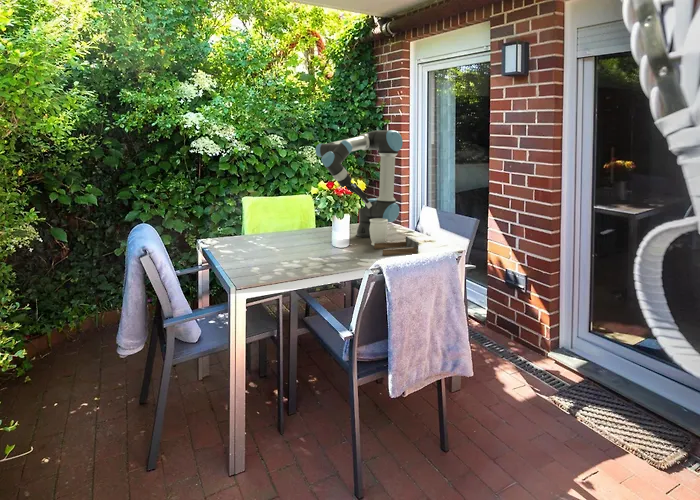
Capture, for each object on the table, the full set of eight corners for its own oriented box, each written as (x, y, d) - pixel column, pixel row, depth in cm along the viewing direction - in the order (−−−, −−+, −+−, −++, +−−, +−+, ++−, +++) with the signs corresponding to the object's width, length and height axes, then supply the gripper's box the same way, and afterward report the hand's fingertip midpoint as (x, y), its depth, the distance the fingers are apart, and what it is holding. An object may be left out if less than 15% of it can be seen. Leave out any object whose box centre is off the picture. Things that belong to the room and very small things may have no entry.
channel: (374, 248, 293) (374, 238, 292) (407, 246, 298) (407, 236, 297) (383, 255, 278) (383, 244, 276) (418, 252, 283) (418, 242, 281)
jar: (386, 242, 307) (386, 217, 304) (388, 246, 297) (389, 221, 294) (368, 243, 307) (368, 218, 303) (370, 247, 297) (370, 221, 293)
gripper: (327, 180, 290) (348, 207, 300) (349, 183, 269) (371, 212, 279) (336, 171, 292) (356, 198, 302) (358, 173, 271) (380, 203, 281)
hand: (363, 205), depth 290 cm, fingers open, 13 cm apart
